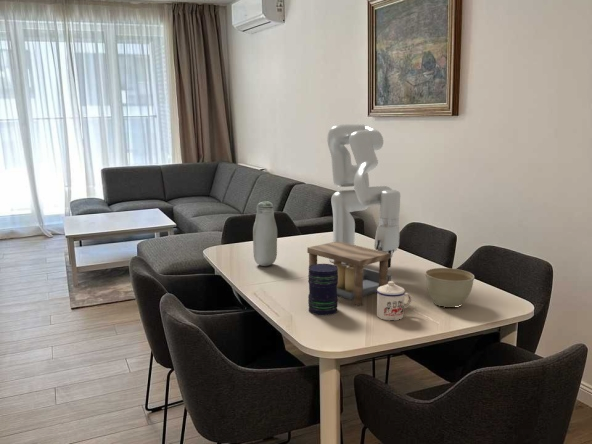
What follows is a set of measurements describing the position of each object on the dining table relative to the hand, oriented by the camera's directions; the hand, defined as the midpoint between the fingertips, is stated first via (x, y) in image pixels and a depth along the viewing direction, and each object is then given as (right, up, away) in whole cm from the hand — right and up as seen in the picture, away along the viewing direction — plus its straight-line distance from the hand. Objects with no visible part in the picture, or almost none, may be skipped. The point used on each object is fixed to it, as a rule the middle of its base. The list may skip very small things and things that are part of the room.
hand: (386, 266), depth 224 cm
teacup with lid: (-4, -13, -39) cm, 41 cm away
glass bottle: (-49, -1, +23) cm, 54 cm away
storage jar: (-27, -12, -34) cm, 45 cm away
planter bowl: (+17, -11, -28) cm, 34 cm away
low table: (-17, -8, -15) cm, 24 cm away
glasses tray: (-12, -8, -12) cm, 18 cm away
